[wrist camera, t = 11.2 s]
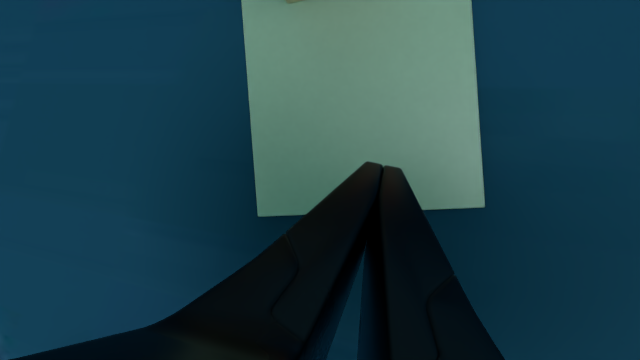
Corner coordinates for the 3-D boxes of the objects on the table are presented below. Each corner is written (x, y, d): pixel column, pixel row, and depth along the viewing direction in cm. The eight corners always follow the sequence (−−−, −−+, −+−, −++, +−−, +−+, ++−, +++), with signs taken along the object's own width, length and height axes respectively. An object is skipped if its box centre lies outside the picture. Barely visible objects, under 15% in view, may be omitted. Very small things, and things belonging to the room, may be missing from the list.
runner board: (484, 206, 19) (485, 207, 19) (260, 216, 23) (257, 216, 23) (466, -61, 19) (467, -65, 19) (243, -8, 23) (240, -10, 22)
